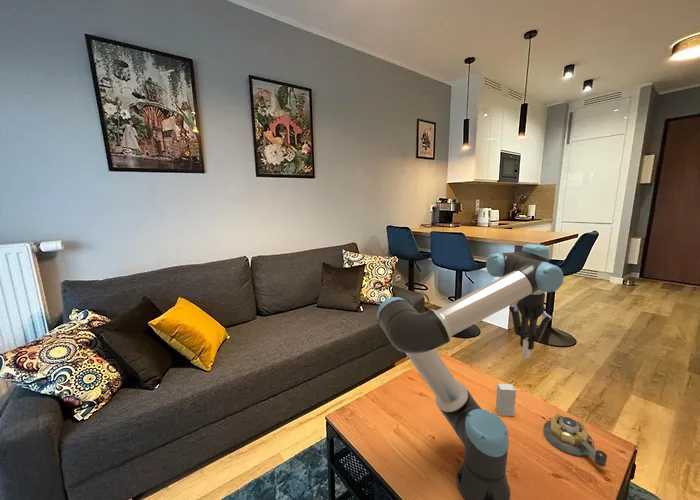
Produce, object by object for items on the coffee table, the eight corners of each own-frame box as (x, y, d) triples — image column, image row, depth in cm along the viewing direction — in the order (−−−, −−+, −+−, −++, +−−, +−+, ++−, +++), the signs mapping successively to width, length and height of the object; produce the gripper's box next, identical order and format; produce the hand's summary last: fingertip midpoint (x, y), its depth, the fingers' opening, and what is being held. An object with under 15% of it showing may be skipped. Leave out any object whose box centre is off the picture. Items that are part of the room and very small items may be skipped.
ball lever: (618, 465, 98) (620, 453, 97) (589, 469, 96) (590, 458, 96) (568, 421, 116) (570, 412, 116) (543, 424, 115) (544, 415, 114)
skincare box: (510, 409, 127) (512, 383, 125) (514, 416, 123) (516, 390, 121) (495, 408, 128) (496, 383, 125) (498, 415, 123) (500, 389, 121)
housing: (584, 464, 101) (587, 444, 99) (536, 436, 113) (537, 418, 111) (599, 442, 109) (602, 424, 108) (553, 418, 121) (555, 401, 120)
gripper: (559, 293, 96) (551, 361, 101) (517, 284, 107) (512, 345, 111) (548, 298, 92) (541, 368, 96) (506, 288, 103) (501, 352, 107)
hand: (525, 356), depth 104 cm, fingers closed
